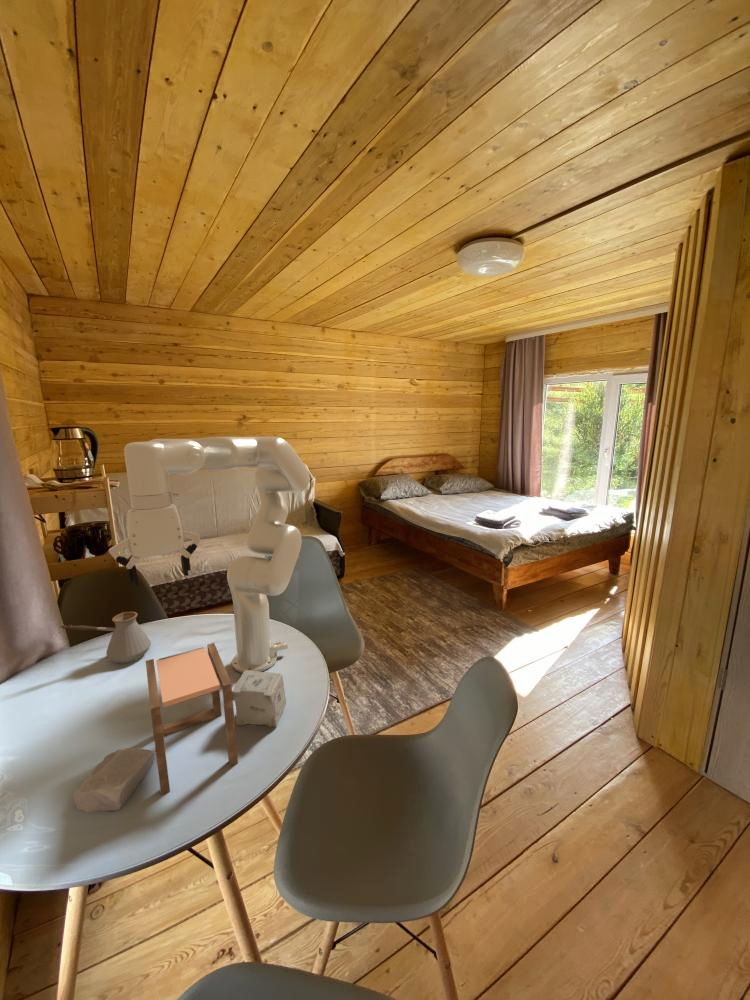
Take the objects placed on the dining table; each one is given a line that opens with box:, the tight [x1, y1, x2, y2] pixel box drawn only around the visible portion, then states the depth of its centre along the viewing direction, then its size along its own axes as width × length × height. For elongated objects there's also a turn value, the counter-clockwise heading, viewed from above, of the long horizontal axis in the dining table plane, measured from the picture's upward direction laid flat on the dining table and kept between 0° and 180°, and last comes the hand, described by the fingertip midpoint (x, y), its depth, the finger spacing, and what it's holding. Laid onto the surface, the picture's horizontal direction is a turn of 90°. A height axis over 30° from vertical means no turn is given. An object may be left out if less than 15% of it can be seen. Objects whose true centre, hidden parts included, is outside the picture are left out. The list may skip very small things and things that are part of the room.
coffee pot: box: [58, 611, 152, 664], centre depth 119 cm, size 21×12×15 cm, turn 130°
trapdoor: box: [156, 646, 221, 708], centre depth 86 cm, size 10×18×3 cm, turn 31°
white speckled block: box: [232, 670, 287, 728], centre depth 96 cm, size 10×8×10 cm
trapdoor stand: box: [145, 642, 239, 796], centre depth 86 cm, size 14×18×18 cm
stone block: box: [73, 747, 155, 813], centre depth 79 cm, size 12×5×10 cm
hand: (161, 579), depth 89 cm, fingers open, 9 cm apart
